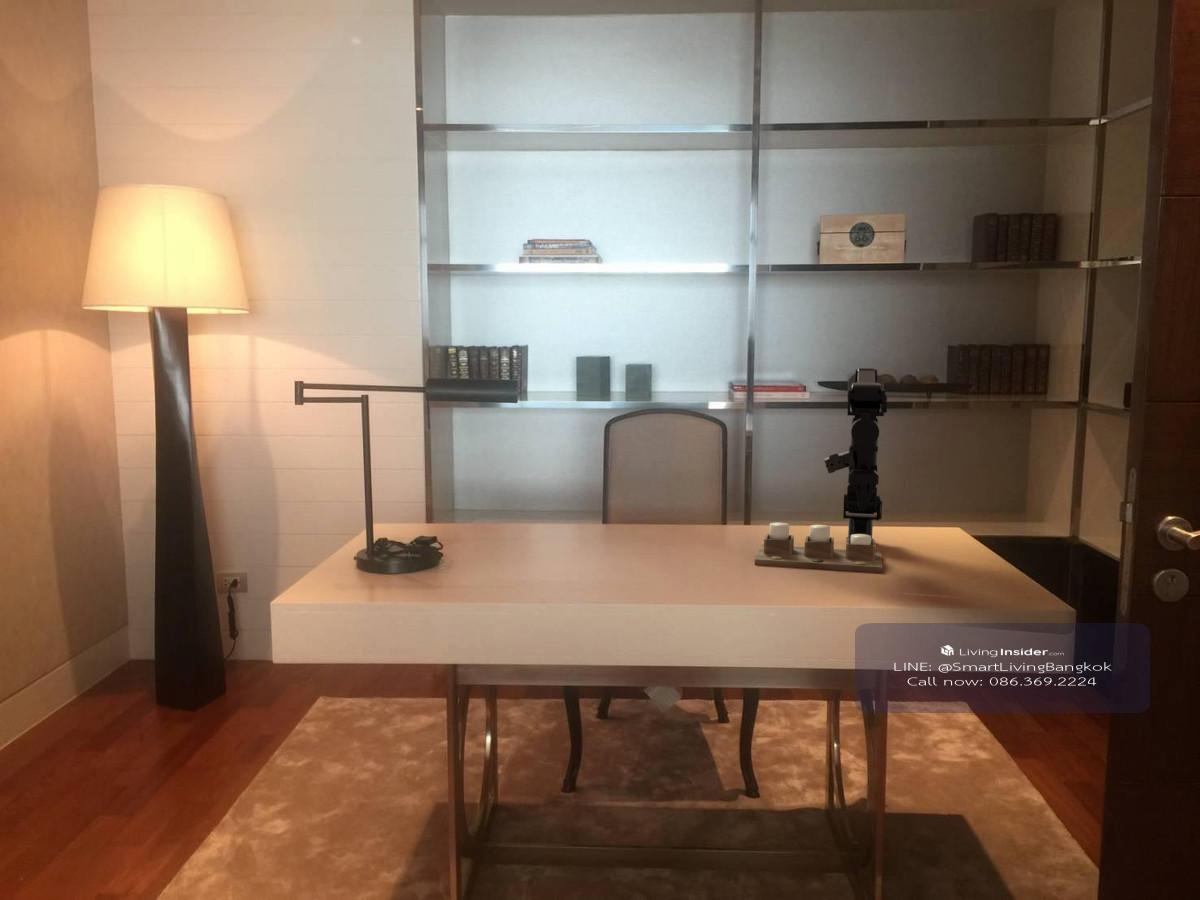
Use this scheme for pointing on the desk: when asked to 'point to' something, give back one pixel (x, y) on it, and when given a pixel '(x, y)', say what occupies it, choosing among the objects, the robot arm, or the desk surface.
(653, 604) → the desk surface
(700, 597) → the desk surface
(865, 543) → the button
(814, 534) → the button
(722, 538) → the desk surface
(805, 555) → the board
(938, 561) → the desk surface
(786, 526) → the button
